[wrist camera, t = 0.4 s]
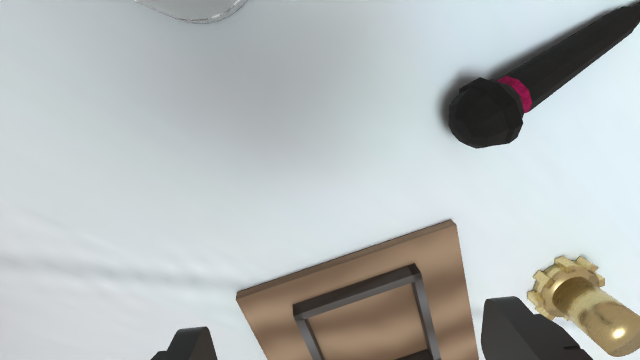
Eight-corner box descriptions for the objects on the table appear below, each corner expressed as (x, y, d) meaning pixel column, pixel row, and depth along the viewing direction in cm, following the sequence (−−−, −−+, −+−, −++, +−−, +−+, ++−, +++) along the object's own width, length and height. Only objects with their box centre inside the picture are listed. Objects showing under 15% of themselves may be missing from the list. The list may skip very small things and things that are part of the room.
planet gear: (525, 269, 34) (588, 321, 27) (592, 246, 34) (672, 293, 27) (529, 320, 37) (587, 379, 30) (591, 299, 37) (663, 353, 30)
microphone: (607, -12, 28) (424, 110, 28) (685, -59, 23) (457, 94, 22) (638, 40, 29) (457, 163, 28) (723, 7, 23) (498, 160, 22)
